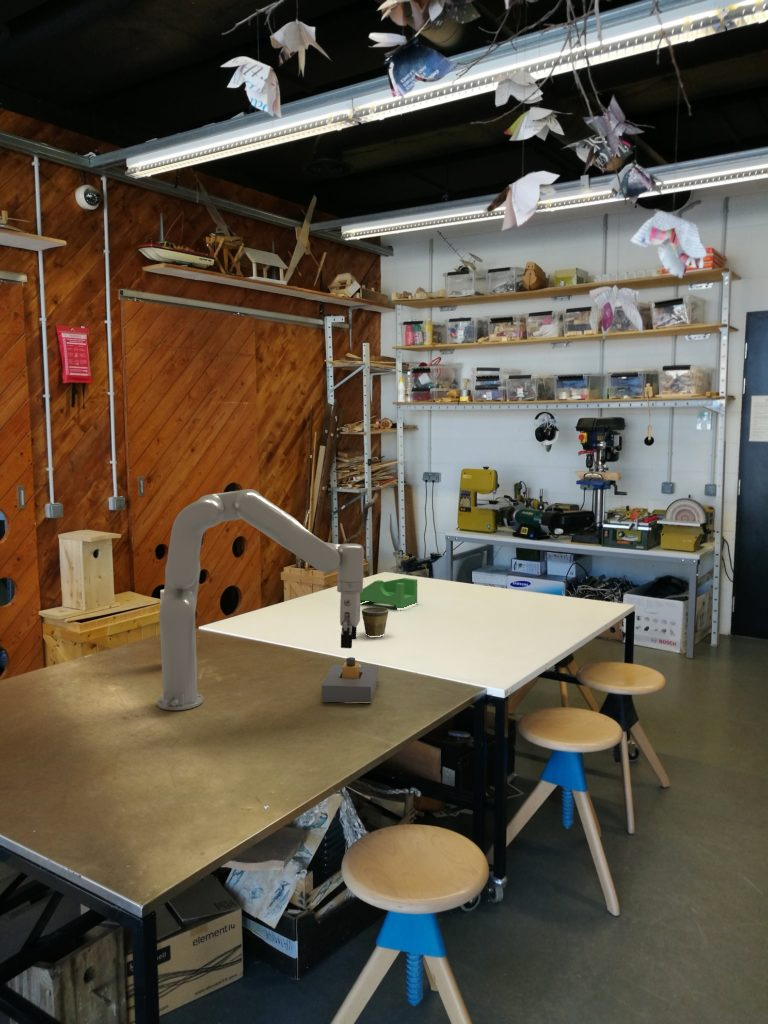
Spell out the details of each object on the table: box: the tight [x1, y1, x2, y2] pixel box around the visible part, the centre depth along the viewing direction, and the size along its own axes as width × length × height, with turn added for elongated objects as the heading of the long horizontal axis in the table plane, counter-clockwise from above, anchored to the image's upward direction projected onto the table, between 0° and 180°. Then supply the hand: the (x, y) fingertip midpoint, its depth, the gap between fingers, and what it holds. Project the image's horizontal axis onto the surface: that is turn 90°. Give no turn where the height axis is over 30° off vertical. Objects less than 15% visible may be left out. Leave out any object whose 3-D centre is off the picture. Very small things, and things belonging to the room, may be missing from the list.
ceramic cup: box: [361, 606, 389, 636], centre depth 290 cm, size 13×10×10 cm
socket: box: [321, 663, 379, 703], centre depth 227 cm, size 20×14×6 cm
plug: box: [342, 656, 360, 679], centre depth 226 cm, size 4×4×9 cm
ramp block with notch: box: [360, 577, 418, 609], centre depth 340 cm, size 24×13×12 cm, turn 56°
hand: (348, 643), depth 225 cm, fingers open, 9 cm apart
